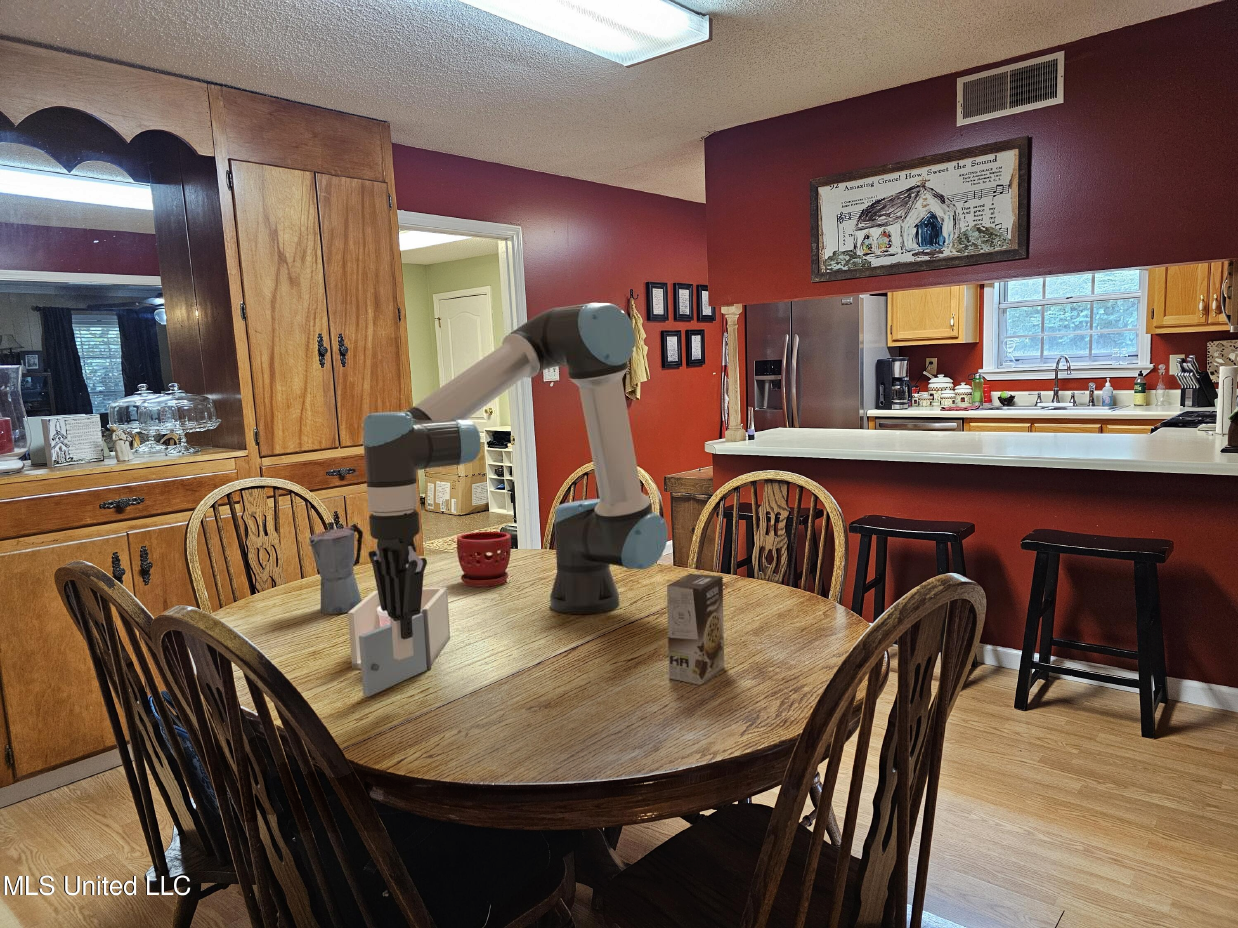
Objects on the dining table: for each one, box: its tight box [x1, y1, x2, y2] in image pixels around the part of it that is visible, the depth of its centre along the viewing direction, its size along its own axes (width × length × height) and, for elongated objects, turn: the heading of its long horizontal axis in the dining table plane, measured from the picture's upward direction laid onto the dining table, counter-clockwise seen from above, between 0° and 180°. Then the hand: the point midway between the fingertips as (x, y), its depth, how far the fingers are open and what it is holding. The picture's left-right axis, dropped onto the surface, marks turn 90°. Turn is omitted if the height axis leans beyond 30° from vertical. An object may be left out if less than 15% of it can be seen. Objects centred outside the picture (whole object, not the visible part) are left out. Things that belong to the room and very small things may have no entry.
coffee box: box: [666, 573, 725, 686], centre depth 134 cm, size 9×6×16 cm
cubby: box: [347, 587, 451, 671], centre depth 149 cm, size 14×16×11 cm
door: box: [359, 614, 428, 698], centre depth 134 cm, size 13×2×10 cm, turn 148°
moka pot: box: [307, 521, 364, 615], centre depth 179 cm, size 10×15×20 cm, turn 158°
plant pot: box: [456, 531, 512, 588], centre depth 198 cm, size 13×13×12 cm
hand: (403, 656), depth 128 cm, fingers closed
